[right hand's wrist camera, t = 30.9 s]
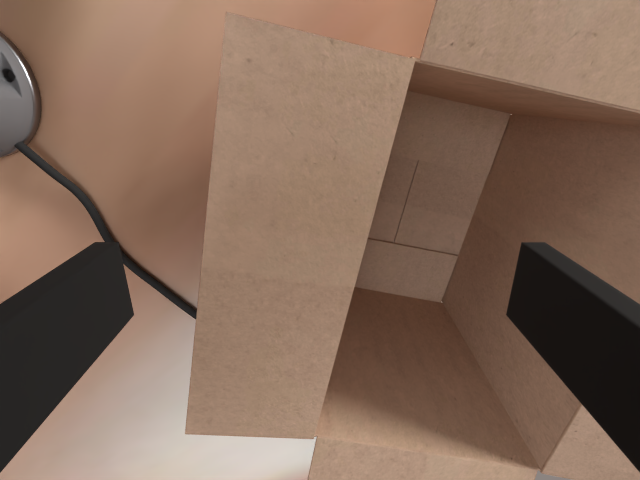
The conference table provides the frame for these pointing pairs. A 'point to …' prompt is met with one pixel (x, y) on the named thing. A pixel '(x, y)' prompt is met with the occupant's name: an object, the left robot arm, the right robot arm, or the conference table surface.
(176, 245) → the conference table surface
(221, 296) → the box
